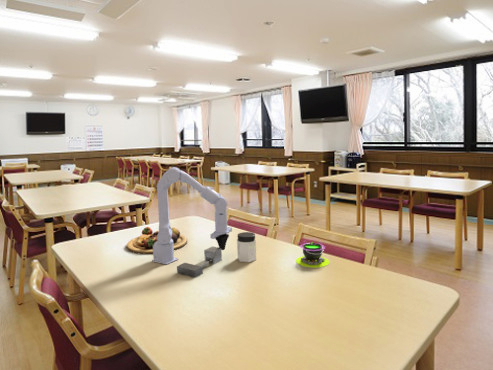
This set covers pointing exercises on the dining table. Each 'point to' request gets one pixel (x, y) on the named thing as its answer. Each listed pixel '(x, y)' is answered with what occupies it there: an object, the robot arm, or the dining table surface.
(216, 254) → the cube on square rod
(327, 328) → the dining table surface
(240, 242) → the jar
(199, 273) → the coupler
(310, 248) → the toy cauldron
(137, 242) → the wooden plate with food
